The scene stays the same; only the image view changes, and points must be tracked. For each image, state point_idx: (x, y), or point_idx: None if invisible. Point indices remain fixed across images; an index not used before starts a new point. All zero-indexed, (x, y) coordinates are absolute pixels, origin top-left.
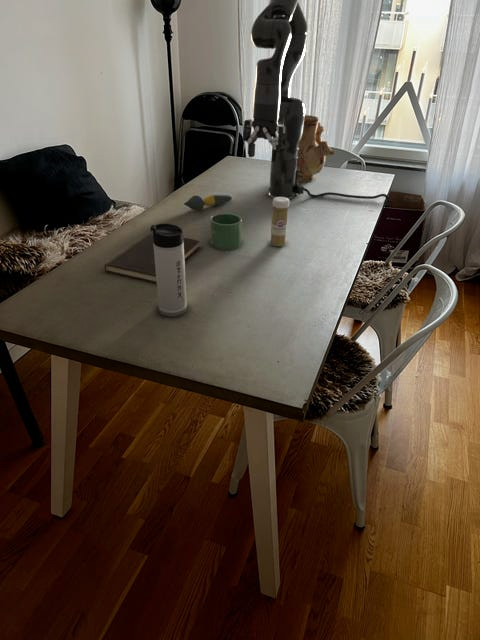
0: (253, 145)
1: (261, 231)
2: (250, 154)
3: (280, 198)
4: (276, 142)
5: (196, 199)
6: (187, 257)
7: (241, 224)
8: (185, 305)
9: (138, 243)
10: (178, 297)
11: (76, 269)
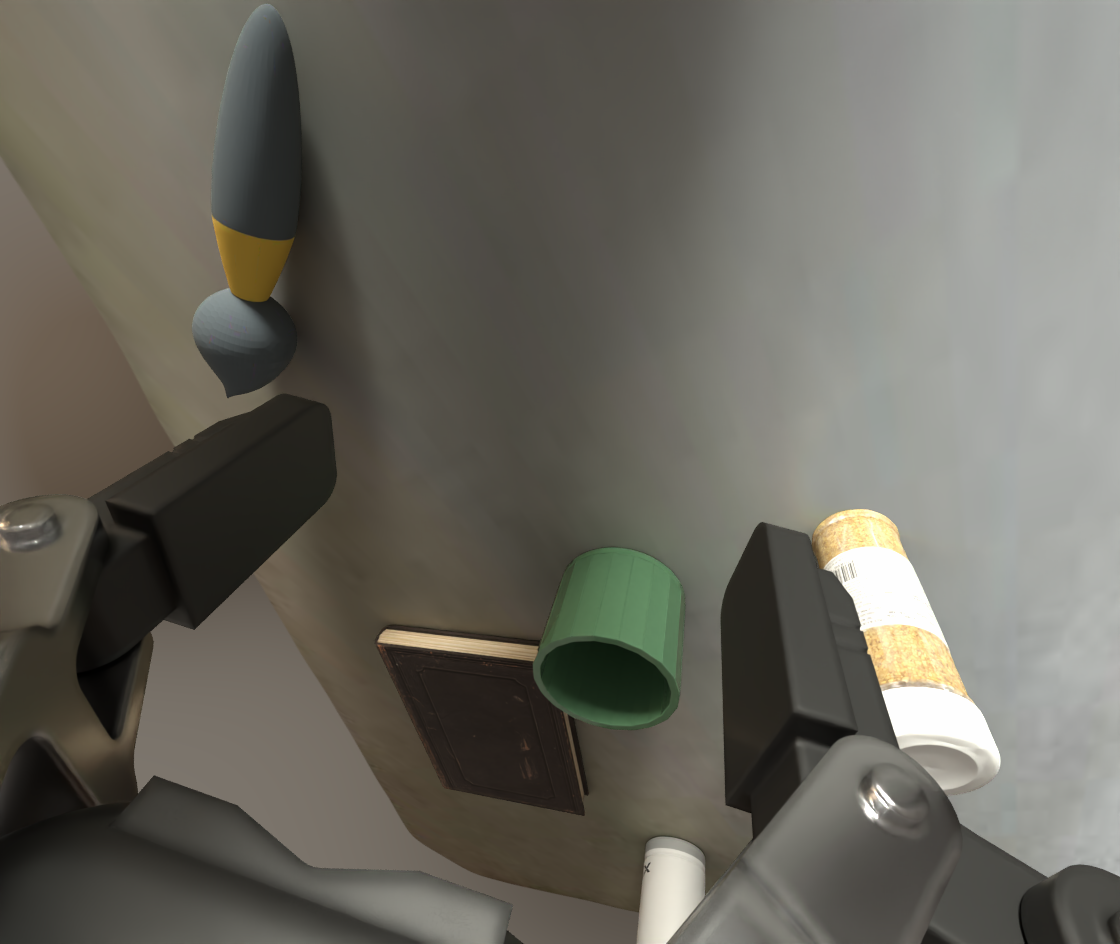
0: (191, 552)
1: (723, 436)
2: (310, 515)
3: (921, 756)
4: (812, 920)
5: (247, 374)
6: None
7: (677, 662)
8: (703, 870)
9: (414, 709)
10: None
11: (394, 763)
